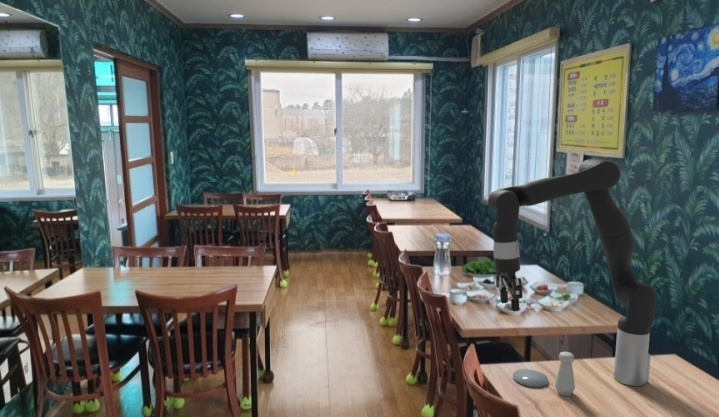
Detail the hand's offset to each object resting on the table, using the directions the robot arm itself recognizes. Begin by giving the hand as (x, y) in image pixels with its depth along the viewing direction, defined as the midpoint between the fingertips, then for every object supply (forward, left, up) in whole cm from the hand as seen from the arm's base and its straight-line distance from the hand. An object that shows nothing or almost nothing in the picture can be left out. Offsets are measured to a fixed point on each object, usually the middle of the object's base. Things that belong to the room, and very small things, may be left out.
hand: (509, 306), depth 154 cm
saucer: (-11, -5, -27) cm, 30 cm away
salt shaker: (-17, +5, -28) cm, 33 cm away
